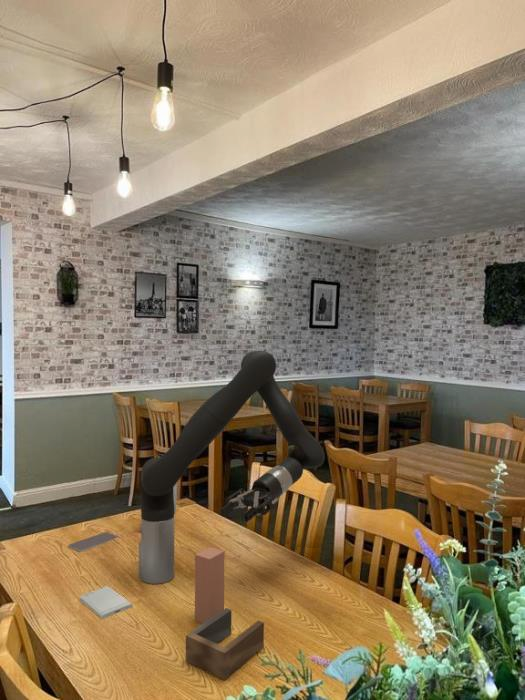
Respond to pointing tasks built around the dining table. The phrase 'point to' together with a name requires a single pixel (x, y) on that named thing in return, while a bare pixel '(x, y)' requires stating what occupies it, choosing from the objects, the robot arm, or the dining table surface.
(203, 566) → the reddish pink rectangular block
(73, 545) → the smartphone
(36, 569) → the dining table surface
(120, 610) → the hard drive
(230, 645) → the book slot
